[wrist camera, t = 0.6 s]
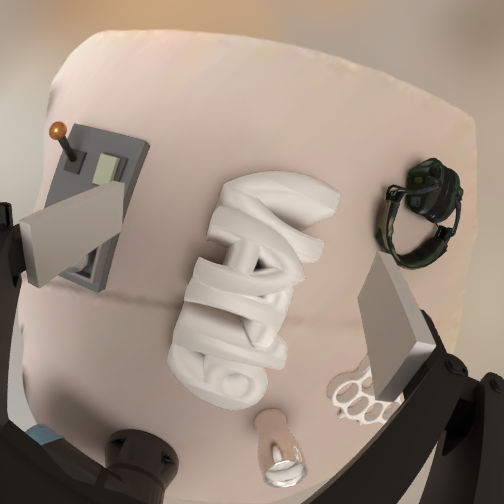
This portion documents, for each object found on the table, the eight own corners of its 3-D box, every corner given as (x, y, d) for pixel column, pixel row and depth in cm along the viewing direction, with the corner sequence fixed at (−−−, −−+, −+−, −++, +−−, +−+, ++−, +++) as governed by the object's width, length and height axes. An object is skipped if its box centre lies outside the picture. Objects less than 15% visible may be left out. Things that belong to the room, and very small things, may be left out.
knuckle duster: (415, 373, 51) (374, 428, 51) (357, 341, 49) (311, 405, 49) (423, 379, 48) (381, 436, 48) (365, 347, 46) (316, 414, 46)
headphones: (397, 135, 41) (358, 249, 45) (473, 159, 33) (433, 284, 37) (411, 163, 52) (379, 254, 55) (470, 184, 44) (437, 282, 47)
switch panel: (104, 289, 44) (91, 295, 38) (40, 260, 42) (23, 264, 37) (150, 146, 43) (141, 135, 38) (81, 128, 42) (67, 118, 36)
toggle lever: (75, 168, 38) (56, 134, 29) (63, 165, 38) (43, 131, 29) (83, 155, 39) (66, 119, 30) (71, 151, 38) (53, 116, 30)
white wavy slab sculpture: (236, 159, 45) (240, 139, 34) (331, 202, 47) (359, 194, 36) (157, 360, 46) (142, 390, 35) (248, 392, 48) (254, 427, 37)
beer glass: (247, 431, 48) (255, 487, 33) (257, 403, 48) (270, 457, 33) (282, 436, 49) (299, 489, 34) (294, 408, 48) (316, 460, 34)
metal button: (88, 274, 38) (79, 277, 35) (65, 264, 38) (55, 266, 35) (95, 245, 38) (87, 246, 35) (71, 236, 38) (62, 236, 35)
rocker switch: (111, 187, 39) (107, 187, 38) (95, 182, 39) (92, 182, 37) (120, 158, 38) (116, 157, 37) (104, 154, 38) (101, 153, 37)
